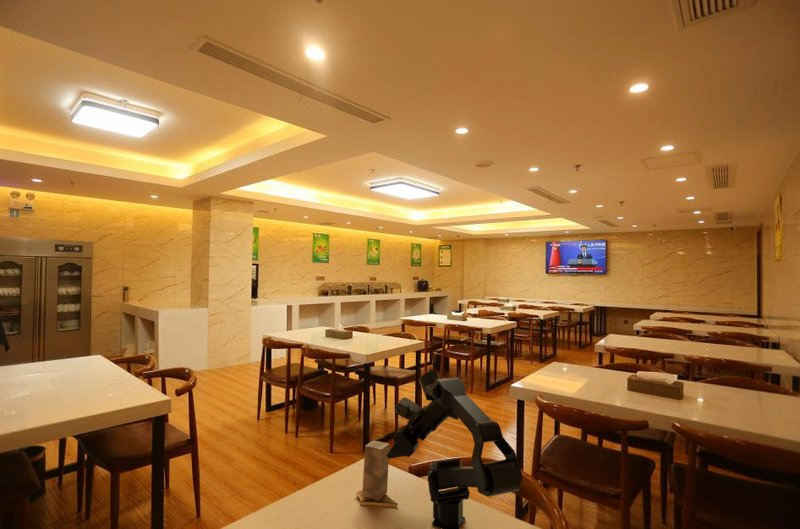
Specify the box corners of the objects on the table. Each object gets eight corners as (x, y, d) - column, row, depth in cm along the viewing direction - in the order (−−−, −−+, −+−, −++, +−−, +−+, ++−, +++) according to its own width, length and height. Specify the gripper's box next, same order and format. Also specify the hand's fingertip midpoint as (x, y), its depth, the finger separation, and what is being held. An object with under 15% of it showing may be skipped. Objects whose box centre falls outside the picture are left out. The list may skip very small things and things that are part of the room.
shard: (398, 509, 103) (398, 502, 103) (373, 520, 98) (373, 512, 98) (375, 491, 112) (375, 484, 112) (352, 500, 107) (352, 493, 107)
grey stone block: (386, 492, 108) (389, 443, 109) (378, 500, 103) (381, 449, 104) (370, 488, 110) (373, 440, 111) (362, 496, 105) (365, 445, 106)
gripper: (424, 381, 113) (389, 414, 117) (400, 400, 96) (360, 438, 100) (450, 412, 110) (413, 445, 114) (431, 438, 93) (388, 475, 97)
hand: (394, 449), depth 106 cm, fingers open, 9 cm apart
